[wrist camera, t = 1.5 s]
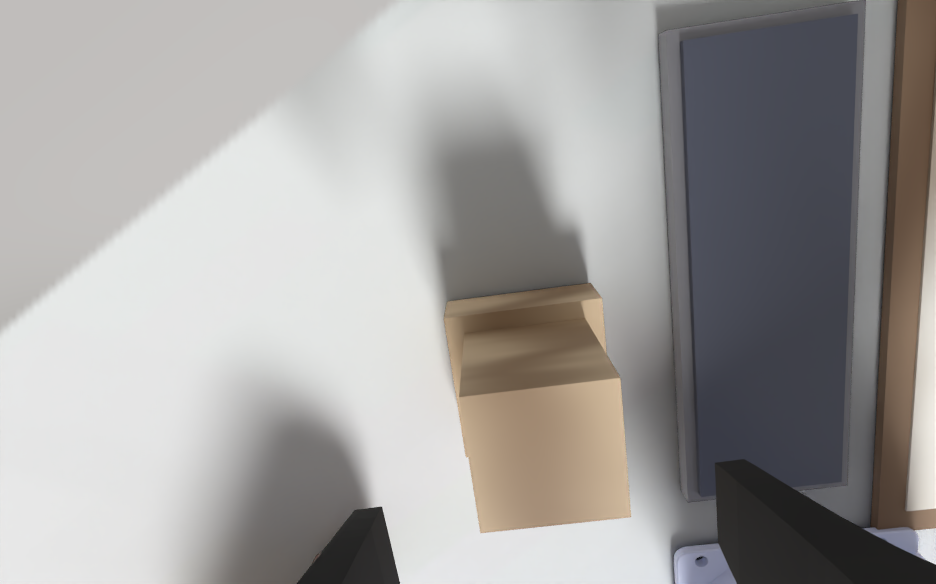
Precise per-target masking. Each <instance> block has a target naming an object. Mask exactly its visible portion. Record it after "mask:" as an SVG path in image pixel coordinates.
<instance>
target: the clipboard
mask: <svg viewBox="0 0 936 584" xmlns="http://www.w3.org/2000/svg"><path fill="white" fill-rule="evenodd" d="M872 527H875V528H876V529H877V530H880V529H890V528H900V527H909V528H911V529H913V530H922V529H932V528H936V0H898V7H897V26H896V46H895V65H894V84H893V104H892V123H891V142H890V162H889V181H888V200H887V220H886V239H885V258H884V278H883V297H882V316H881V336H880V355H879V374H878V394H877V413H876V433H875V452H874V471H873V491H872V510H871V528H872Z"/></svg>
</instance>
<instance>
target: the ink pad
mask: <svg viewBox="0 0 936 584" xmlns="http://www.w3.org/2000/svg"><path fill="white" fill-rule="evenodd" d="M865 8H866V0H858V1H852V2H845V3H839V4H832V5H826V6H819V7H813V8H807V9H800V10H794V11H787V12H781V13H774V14H768V15H761V16H755V17H749V18H742V19H736V20H729V21H723V22H716V23H710V24H703V25H697V26H691V27H684V28H678V29H671V30H666V31H664V32H662V33H661V34H659V35H658V40H659V60H660V81H661V101H662V121H663V141H664V161H665V181H666V201H667V222H668V242H669V262H670V282H671V302H672V322H673V343H674V363H675V383H676V403H677V423H678V443H679V464H680V484H681V491H682V493H683V495H684V496H685V498H686V500H687V502H696V501H705V500H714V499H716V481H715V463H717V462H725V461H732V460H740V459H745V460H747V461H749V462H750V463H752V464H754V465H755V466H757V467H759V468H760V469H762V470H764V471H765V472H767V473H769V474H770V475H772V476H774V477H775V478H777V479H778V480H780V481H782V482H783V483H785V484H787V485H788V486H790V487H792V488H793V489H795V490H796V491H799V490H808V489H818V488H827V487H836V486H846V485H847V478H848V452H849V426H850V400H851V374H852V348H853V322H854V295H855V269H856V243H857V217H858V191H859V165H860V138H861V112H862V86H863V60H864V34H865Z"/></svg>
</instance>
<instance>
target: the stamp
mask: <svg viewBox="0 0 936 584" xmlns="http://www.w3.org/2000/svg"><path fill="white" fill-rule="evenodd" d="M444 323H445V329H446V336H447V342H448V348H449V354H450V361H451V367H452V373H453V379H454V386H455V392H456V398H457V404H458V411H459V417H460V423H461V429H462V436H463V442H464V448H465V454H466V457H469V464H470V470H471V476H472V483H473V489H474V495H475V501H476V508H477V514H478V520H479V527H480V533H486V532H496V531H505V530H515V529H524V528H534V527H543V526H552V525H562V524H571V523H581V522H590V521H600V520H609V519H619V518H628V517H631V510H630V497H629V484H628V471H627V457H626V444H625V431H624V418H623V405H622V392H621V379H620V376H619V375H618V373H617V371H616V370H615V368H614V366H613V364H612V363H611V361H610V359H609V358H608V356H607V353H606V341H605V328H604V316H603V304H602V297H601V296H600V295H599V294H598V292H597V291H596V290H595V288H594V287H593V286H592V284H591V283H586V284H578V285H570V286H563V287H555V288H547V289H540V290H532V291H524V292H517V293H509V294H501V295H493V296H486V297H478V298H470V299H463V300H455V301H447V305H446V310H445V315H444Z"/></svg>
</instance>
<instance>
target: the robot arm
mask: <svg viewBox="0 0 936 584" xmlns="http://www.w3.org/2000/svg"><path fill="white" fill-rule="evenodd" d="M715 481H716V503H717V526H718V543H716V544H706V545H696V546H686V547H682V548H680V549H678V550H677V551H676V553H675V554H674V572H675V584H936V565H935V564H933V563H931V562H928V561H927V560H925V559H924V558H923V557H922V556H921V555H920V554H919V553H918V541H919V538H918V534H917V533H916V532H915V531H914V530H913V529H911V528H909V527H900V528H890V529H880V530H877V529H876V528H875V527H872V528H863V529H862V528H860V527H858V526H857V525H855V524H853V523H851V522H849V521H848V520H846V519H844V518H842V517H840V516H839V515H837V514H835V513H834V512H832V511H830V510H828V509H827V508H825V507H823V506H821V505H820V504H818V503H816V502H815V501H813V500H811V499H810V498H808V497H806V496H805V495H803V494H801V493H800V492H798V491H796V490H795V489H793V488H792V487H790V486H788V485H787V484H785V483H783V482H782V481H780V480H778V479H777V478H775V477H774V476H772V475H770V474H769V473H767V472H765V471H764V470H762V469H760V468H759V467H757V466H755V465H754V464H752V463H750V462H749V461H747V460H745V459H740V460H732V461H725V462H717V463H715ZM700 556H704V557H703V558H702V559H700V560H696V559H697V558H698V557H700ZM297 584H400V582H399V577H398V573H397V569H396V565H395V560H394V556H393V552H392V548H391V543H390V539H389V535H388V531H387V526H386V522H385V518H384V514H383V509H382V507H376V508H368V509H360V510H355V511H354V512H353V513H352V514H351V516H350V517H349V518H348V519H347V521H346V522H345V523H344V524H343V526H342V527H341V528H340V530H339V531H338V532H337V533H336V535H335V536H334V537H333V539H332V540H331V541H330V542H329V544H328V545H327V546H326V548H325V549H324V550H323V551H322V553H321V554H320V555H319V557H318V558H317V559H316V560H315V562H314V563H313V564H312V565H311V567H310V568H309V569H308V570H307V571H306V573H305V574H304V575H303V576H302V578H301V579H300V580H299V581H298V583H297Z"/></svg>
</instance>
